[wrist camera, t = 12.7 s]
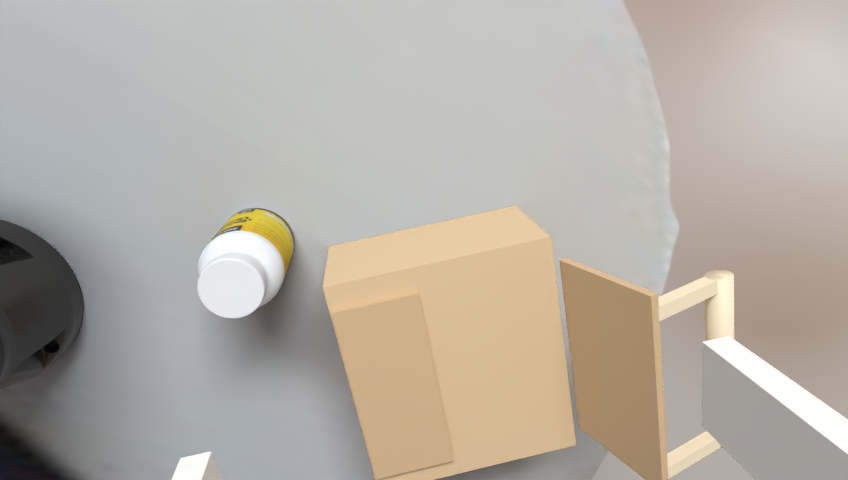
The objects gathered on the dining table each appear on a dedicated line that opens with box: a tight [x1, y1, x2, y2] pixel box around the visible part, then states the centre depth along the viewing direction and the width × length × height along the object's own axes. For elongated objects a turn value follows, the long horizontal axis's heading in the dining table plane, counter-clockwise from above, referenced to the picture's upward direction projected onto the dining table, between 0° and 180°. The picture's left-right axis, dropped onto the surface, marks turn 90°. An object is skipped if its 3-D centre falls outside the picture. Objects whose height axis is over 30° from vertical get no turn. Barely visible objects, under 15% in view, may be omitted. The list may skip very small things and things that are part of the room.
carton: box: [323, 206, 576, 480], centre depth 49 cm, size 18×20×11 cm
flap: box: [559, 258, 734, 480], centre depth 42 cm, size 10×16×8 cm
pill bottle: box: [197, 208, 294, 319], centre depth 44 cm, size 6×6×12 cm
